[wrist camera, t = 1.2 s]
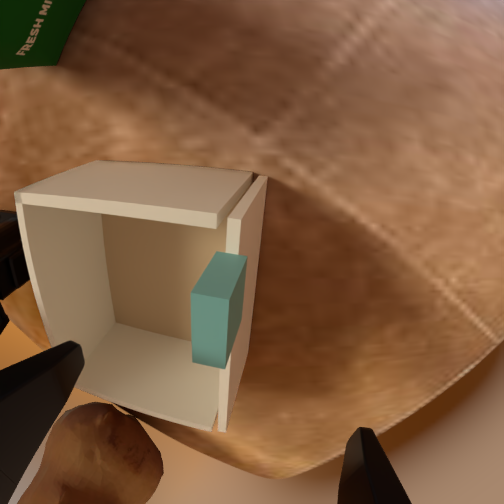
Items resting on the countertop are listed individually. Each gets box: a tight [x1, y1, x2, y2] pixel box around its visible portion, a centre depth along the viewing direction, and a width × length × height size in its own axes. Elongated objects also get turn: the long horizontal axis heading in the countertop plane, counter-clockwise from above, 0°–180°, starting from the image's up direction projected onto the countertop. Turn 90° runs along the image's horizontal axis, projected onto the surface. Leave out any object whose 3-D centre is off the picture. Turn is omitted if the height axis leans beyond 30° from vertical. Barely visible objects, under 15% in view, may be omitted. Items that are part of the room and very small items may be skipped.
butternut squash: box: [17, 402, 164, 504], centre depth 22 cm, size 14×13×25 cm
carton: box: [14, 160, 253, 432], centre depth 19 cm, size 11×14×8 cm
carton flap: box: [191, 175, 268, 433], centre depth 17 cm, size 1×14×11 cm, turn 174°
